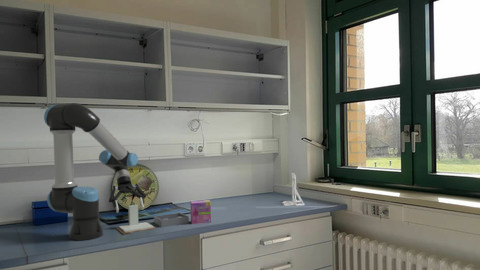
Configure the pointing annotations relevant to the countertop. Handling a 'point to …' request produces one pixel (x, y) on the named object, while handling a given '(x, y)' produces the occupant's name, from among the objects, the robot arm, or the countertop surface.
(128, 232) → the pad
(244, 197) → the countertop surface
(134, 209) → the white t-shaped stand
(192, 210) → the box
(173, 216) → the tub
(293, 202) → the film strip holder
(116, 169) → the robot arm
